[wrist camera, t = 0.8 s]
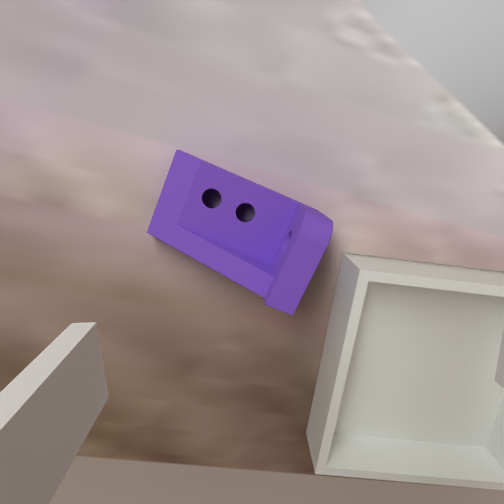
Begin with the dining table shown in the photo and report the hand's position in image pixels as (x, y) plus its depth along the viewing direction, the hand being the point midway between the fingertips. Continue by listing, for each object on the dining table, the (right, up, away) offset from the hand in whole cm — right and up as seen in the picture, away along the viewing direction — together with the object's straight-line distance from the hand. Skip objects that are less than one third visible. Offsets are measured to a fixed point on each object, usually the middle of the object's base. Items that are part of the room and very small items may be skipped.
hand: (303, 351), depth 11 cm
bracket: (-3, +6, +18) cm, 19 cm away
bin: (+14, -7, +21) cm, 26 cm away
